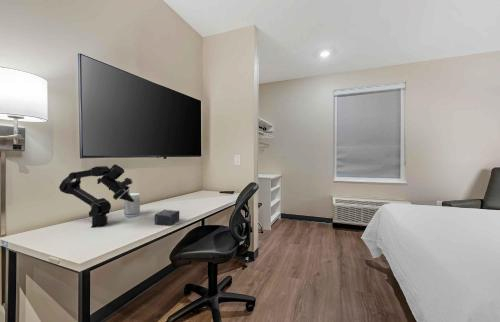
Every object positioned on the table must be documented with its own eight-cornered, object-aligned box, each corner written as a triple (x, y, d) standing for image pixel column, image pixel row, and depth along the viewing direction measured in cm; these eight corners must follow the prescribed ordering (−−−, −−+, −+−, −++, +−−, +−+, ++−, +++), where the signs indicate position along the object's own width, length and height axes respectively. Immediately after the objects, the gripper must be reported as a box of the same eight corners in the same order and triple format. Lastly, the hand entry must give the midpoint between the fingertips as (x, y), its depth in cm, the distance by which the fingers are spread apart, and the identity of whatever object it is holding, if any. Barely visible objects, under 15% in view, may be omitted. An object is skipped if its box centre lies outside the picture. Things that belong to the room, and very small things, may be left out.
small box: (154, 225, 122) (170, 226, 120) (154, 214, 121) (170, 215, 119) (164, 219, 132) (179, 220, 130) (164, 209, 132) (179, 210, 129)
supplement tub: (123, 215, 141) (123, 193, 141) (138, 213, 147) (138, 192, 147) (124, 218, 134) (124, 196, 133) (141, 216, 139) (141, 194, 139)
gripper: (120, 175, 112) (142, 194, 117) (126, 172, 130) (145, 189, 134) (102, 190, 109) (126, 208, 114) (111, 185, 127) (131, 202, 131)
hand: (133, 201), depth 123 cm, fingers closed
